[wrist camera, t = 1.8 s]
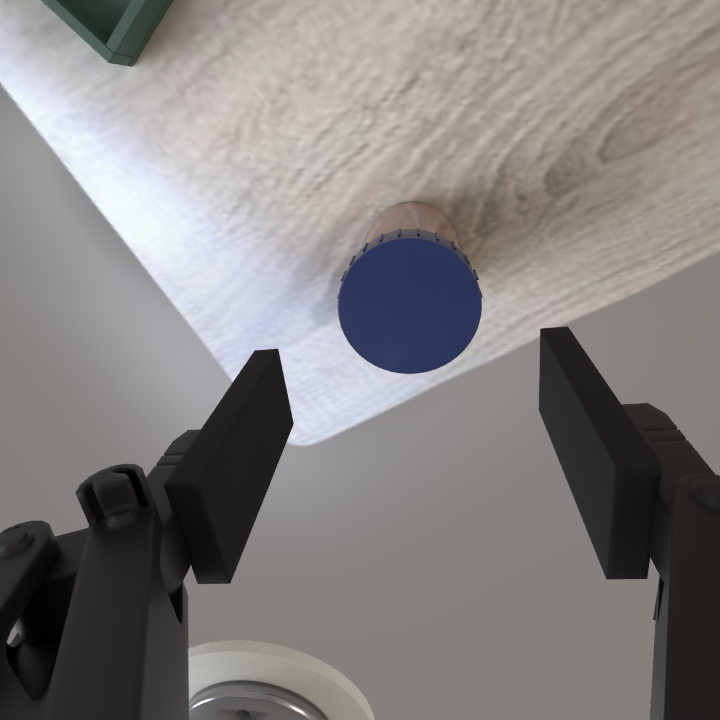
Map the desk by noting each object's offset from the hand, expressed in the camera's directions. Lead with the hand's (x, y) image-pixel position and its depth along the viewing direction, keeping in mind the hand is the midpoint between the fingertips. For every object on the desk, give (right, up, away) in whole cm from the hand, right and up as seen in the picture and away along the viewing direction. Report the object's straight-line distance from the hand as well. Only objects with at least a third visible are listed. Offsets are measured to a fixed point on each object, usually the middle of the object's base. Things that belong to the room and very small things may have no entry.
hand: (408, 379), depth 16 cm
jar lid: (+1, +3, +6) cm, 7 cm away
